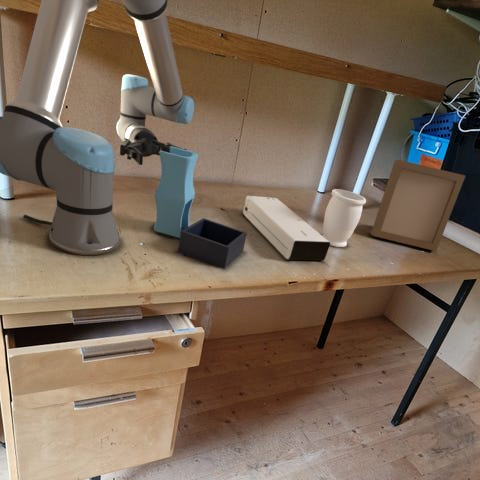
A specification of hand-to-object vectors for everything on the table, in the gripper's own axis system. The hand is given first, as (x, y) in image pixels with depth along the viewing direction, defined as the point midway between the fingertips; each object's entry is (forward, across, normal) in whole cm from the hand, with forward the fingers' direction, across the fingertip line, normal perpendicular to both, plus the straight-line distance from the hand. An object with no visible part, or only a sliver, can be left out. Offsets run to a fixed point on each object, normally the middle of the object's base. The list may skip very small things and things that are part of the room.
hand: (166, 161), depth 108 cm
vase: (+8, 0, -16) cm, 18 cm away
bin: (+21, -6, -16) cm, 27 cm away
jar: (+18, -50, -16) cm, 56 cm away
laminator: (+13, -32, -16) cm, 38 cm away
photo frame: (+17, -82, -16) cm, 85 cm away
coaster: (+8, 0, -16) cm, 18 cm away
